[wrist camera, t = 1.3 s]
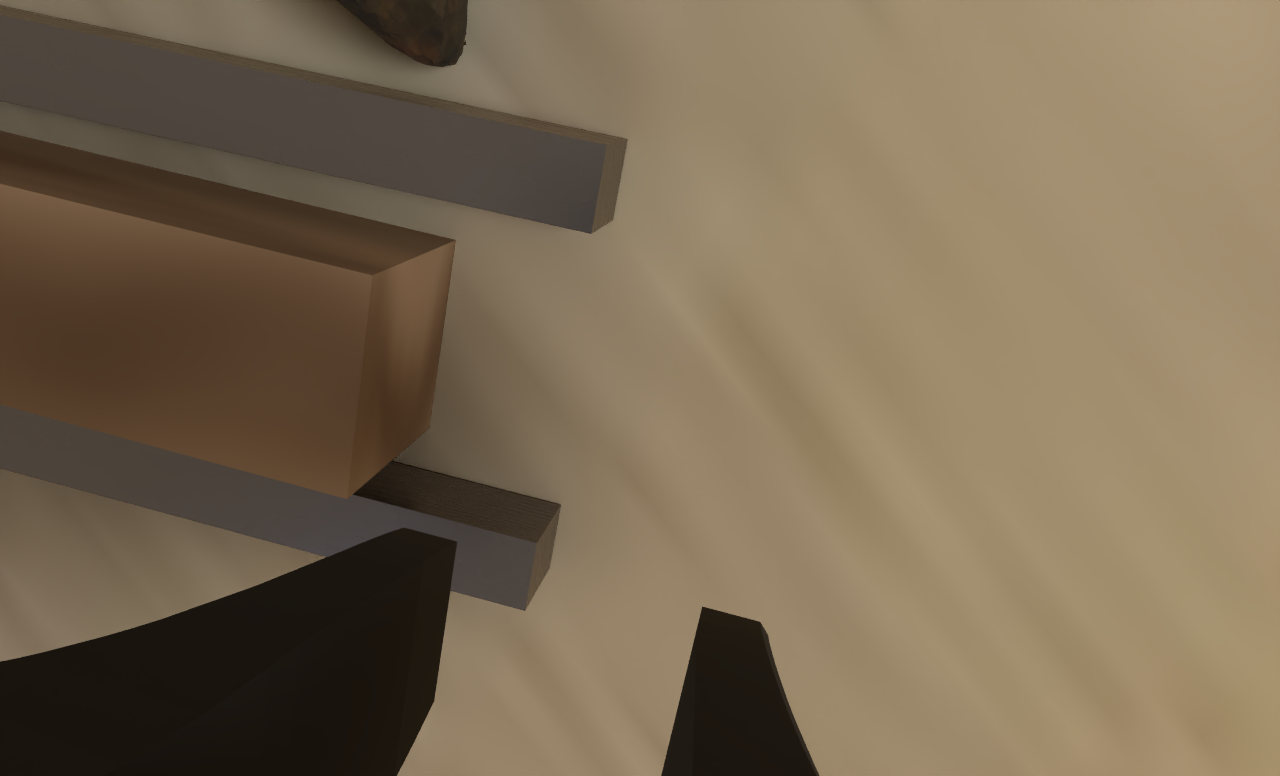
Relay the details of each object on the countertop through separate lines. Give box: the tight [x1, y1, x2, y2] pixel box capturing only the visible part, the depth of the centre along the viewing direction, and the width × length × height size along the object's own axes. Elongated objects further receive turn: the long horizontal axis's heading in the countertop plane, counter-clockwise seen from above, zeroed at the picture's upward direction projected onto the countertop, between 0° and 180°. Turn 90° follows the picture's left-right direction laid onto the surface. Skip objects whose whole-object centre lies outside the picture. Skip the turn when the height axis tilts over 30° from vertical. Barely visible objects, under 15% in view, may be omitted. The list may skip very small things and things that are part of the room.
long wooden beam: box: [0, 131, 456, 499], centre depth 19 cm, size 4×12×4 cm, turn 78°
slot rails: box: [0, 6, 628, 611], centre depth 20 cm, size 9×24×2 cm, turn 79°
